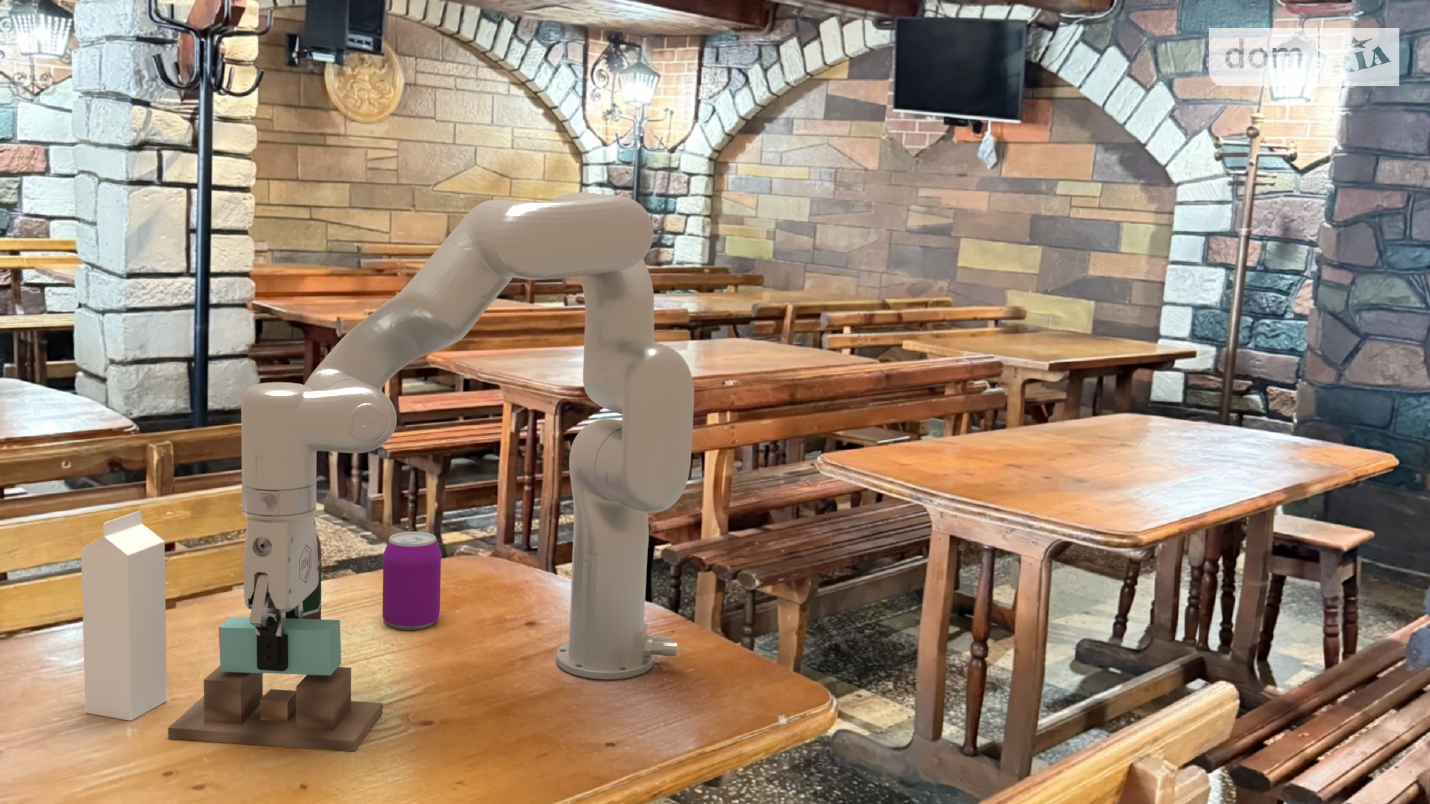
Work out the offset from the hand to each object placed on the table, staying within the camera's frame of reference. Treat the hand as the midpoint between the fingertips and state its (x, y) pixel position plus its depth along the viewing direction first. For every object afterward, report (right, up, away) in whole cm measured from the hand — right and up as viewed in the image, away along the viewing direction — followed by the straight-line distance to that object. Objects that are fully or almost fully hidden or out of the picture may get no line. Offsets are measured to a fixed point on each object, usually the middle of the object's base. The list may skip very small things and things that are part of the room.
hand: (279, 660), depth 137 cm
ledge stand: (0, -7, +1) cm, 7 cm away
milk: (-18, -6, +4) cm, 20 cm away
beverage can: (+6, -2, +36) cm, 36 cm away
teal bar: (0, -1, 0) cm, 1 cm away
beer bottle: (-8, -3, +26) cm, 27 cm away
